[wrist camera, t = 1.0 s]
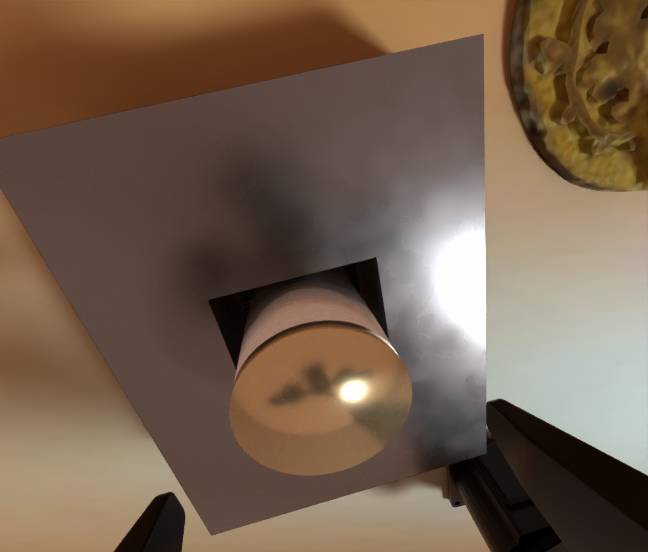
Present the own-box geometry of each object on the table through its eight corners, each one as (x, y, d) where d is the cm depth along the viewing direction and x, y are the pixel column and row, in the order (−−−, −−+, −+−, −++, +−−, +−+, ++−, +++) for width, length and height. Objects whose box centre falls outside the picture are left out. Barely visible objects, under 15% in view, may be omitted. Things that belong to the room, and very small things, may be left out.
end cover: (362, 331, 19) (419, 447, 11) (267, 356, 18) (260, 494, 11) (344, 240, 16) (401, 307, 9) (236, 267, 16) (199, 361, 9)
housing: (442, 391, 22) (486, 453, 17) (225, 453, 21) (211, 535, 16) (417, 74, 14) (483, 33, 10) (77, 149, 13) (-27, 143, 9)
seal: (444, 12, 15) (565, 228, 20) (500, -39, 11) (635, 253, 16) (632, -176, 13) (714, 123, 18) (800, -338, 8) (845, 118, 13)
